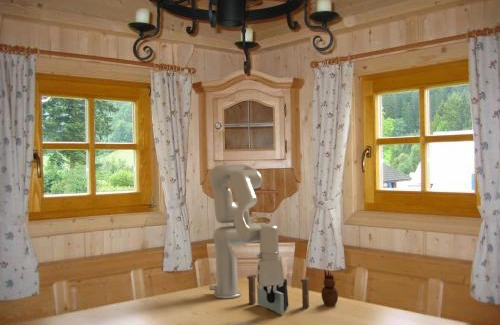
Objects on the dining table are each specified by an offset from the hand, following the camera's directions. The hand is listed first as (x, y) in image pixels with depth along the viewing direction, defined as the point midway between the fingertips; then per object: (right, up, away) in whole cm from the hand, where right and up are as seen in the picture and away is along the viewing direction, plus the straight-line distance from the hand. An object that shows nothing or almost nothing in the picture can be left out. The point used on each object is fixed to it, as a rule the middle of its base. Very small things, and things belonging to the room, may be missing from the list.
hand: (271, 302), depth 208 cm
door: (0, -4, +7) cm, 8 cm away
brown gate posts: (+4, -5, +13) cm, 14 cm away
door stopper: (+4, -5, +9) cm, 11 cm away
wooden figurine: (+25, -5, +12) cm, 28 cm away
